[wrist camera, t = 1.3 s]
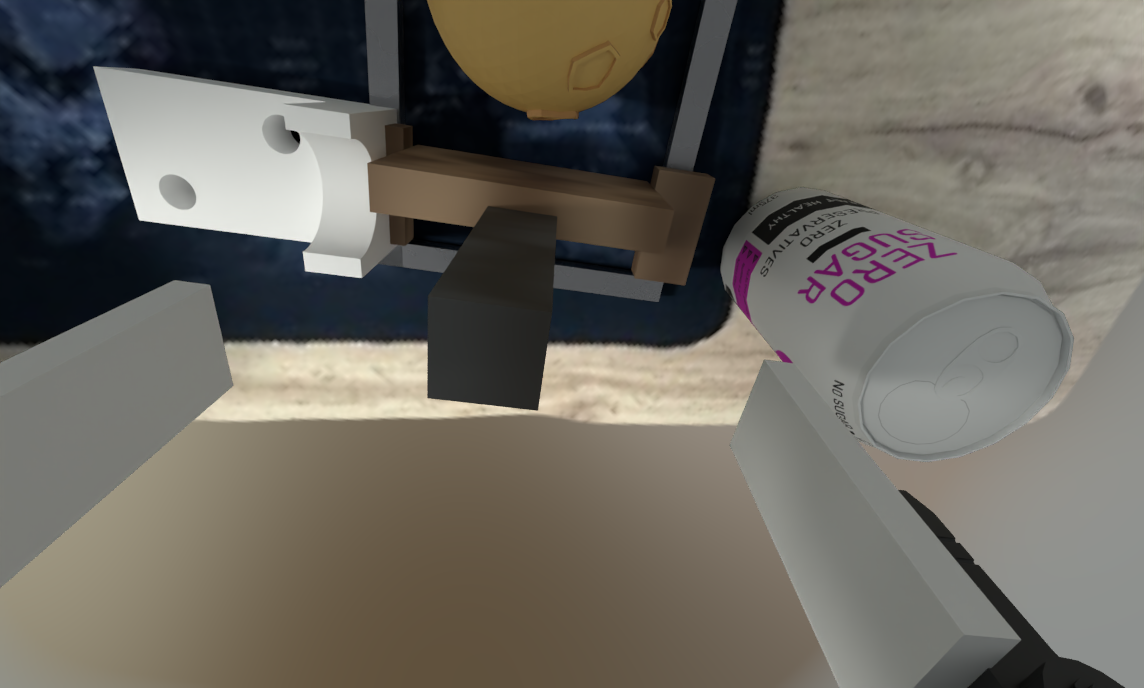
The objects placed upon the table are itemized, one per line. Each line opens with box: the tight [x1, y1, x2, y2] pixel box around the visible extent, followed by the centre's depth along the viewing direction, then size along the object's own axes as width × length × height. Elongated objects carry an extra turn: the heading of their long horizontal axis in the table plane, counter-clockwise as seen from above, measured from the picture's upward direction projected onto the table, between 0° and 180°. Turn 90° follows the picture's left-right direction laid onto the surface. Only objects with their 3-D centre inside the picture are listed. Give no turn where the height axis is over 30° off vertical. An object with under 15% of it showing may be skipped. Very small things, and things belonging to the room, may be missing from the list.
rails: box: [365, 0, 737, 302], centre depth 23 cm, size 18×28×1 cm, turn 171°
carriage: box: [367, 123, 715, 410], centre depth 19 cm, size 19×6×18 cm, turn 81°
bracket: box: [93, 66, 397, 278], centre depth 23 cm, size 13×7×8 cm, turn 82°
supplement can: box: [720, 187, 1074, 462], centre depth 23 cm, size 8×8×15 cm
